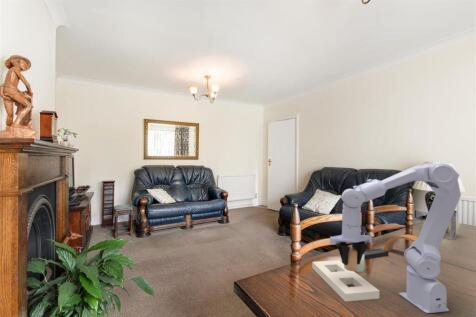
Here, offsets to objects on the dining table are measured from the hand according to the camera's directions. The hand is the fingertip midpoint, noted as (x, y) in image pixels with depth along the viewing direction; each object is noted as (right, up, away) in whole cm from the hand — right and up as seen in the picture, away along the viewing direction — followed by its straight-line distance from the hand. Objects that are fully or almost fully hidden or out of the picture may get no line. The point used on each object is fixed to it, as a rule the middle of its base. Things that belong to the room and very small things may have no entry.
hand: (350, 263), depth 78 cm
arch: (+40, -10, +25) cm, 48 cm away
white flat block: (-1, -9, +5) cm, 10 cm away
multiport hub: (+24, -10, +27) cm, 37 cm away
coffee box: (+81, -10, +54) cm, 97 cm away
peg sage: (+10, -9, +14) cm, 19 cm away
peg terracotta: (0, -2, 0) cm, 2 cm away
